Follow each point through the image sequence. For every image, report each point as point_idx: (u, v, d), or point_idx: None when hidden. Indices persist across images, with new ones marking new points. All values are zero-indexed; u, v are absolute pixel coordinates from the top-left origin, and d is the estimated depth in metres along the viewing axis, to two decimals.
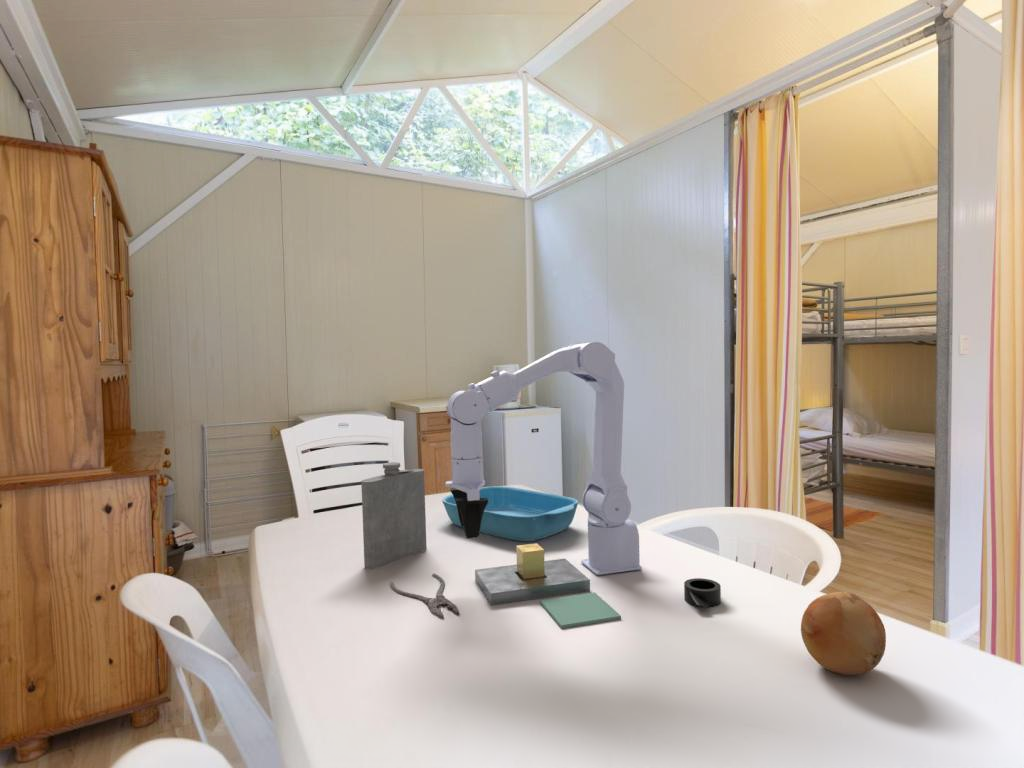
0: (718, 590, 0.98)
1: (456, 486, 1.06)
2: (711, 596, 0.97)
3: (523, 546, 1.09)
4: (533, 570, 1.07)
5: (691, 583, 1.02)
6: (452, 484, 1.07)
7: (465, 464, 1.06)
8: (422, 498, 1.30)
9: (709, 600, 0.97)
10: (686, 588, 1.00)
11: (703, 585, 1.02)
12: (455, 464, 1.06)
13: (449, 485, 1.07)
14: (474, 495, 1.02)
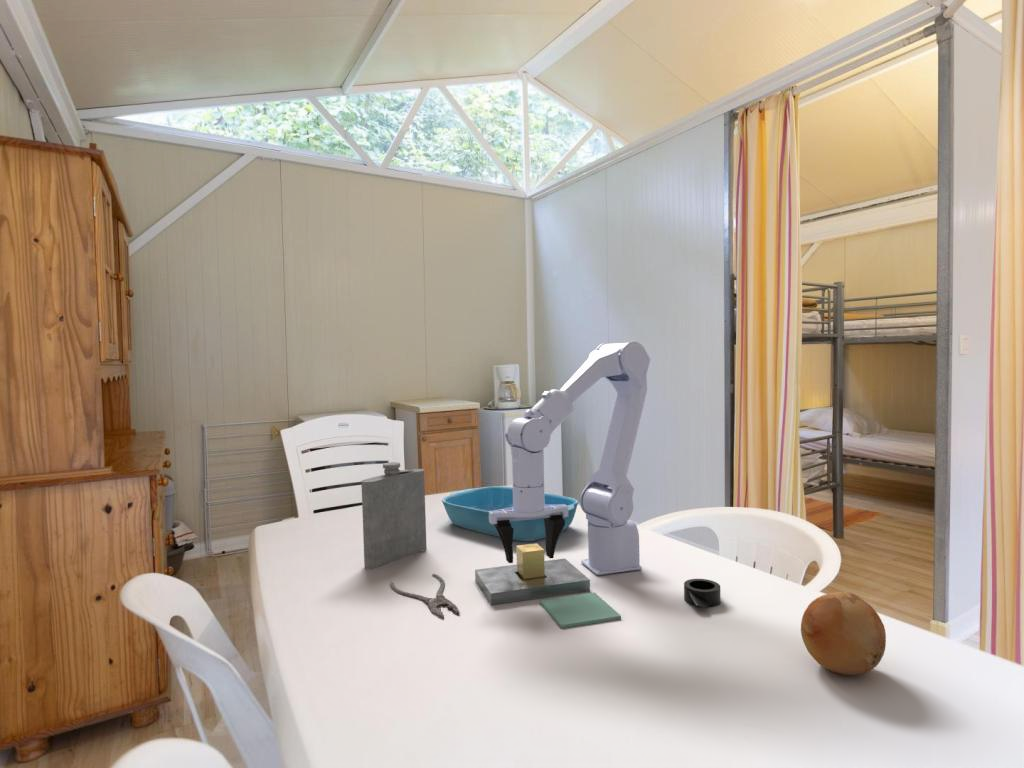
0: (718, 591, 0.98)
1: None
2: (710, 596, 0.97)
3: (523, 546, 1.09)
4: (533, 570, 1.07)
5: (691, 583, 1.02)
6: None
7: None
8: (422, 498, 1.30)
9: (708, 600, 0.97)
10: (686, 588, 1.00)
11: (703, 585, 1.02)
12: None
13: None
14: (490, 518, 1.06)
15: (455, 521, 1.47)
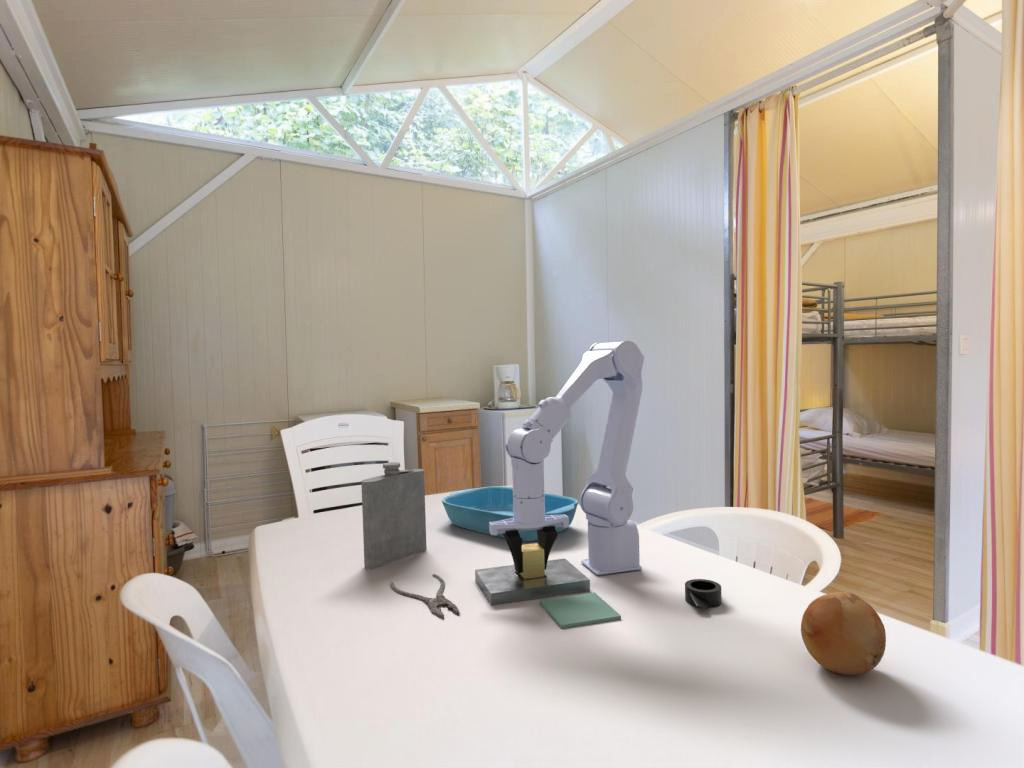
0: (718, 591, 0.98)
1: (513, 519, 1.10)
2: (711, 597, 0.97)
3: (523, 546, 1.09)
4: (533, 570, 1.07)
5: (692, 584, 1.02)
6: None
7: (513, 500, 1.08)
8: (422, 498, 1.30)
9: (709, 601, 0.97)
10: (686, 589, 1.00)
11: (704, 586, 1.02)
12: None
13: None
14: (490, 529, 1.06)
15: (455, 521, 1.47)
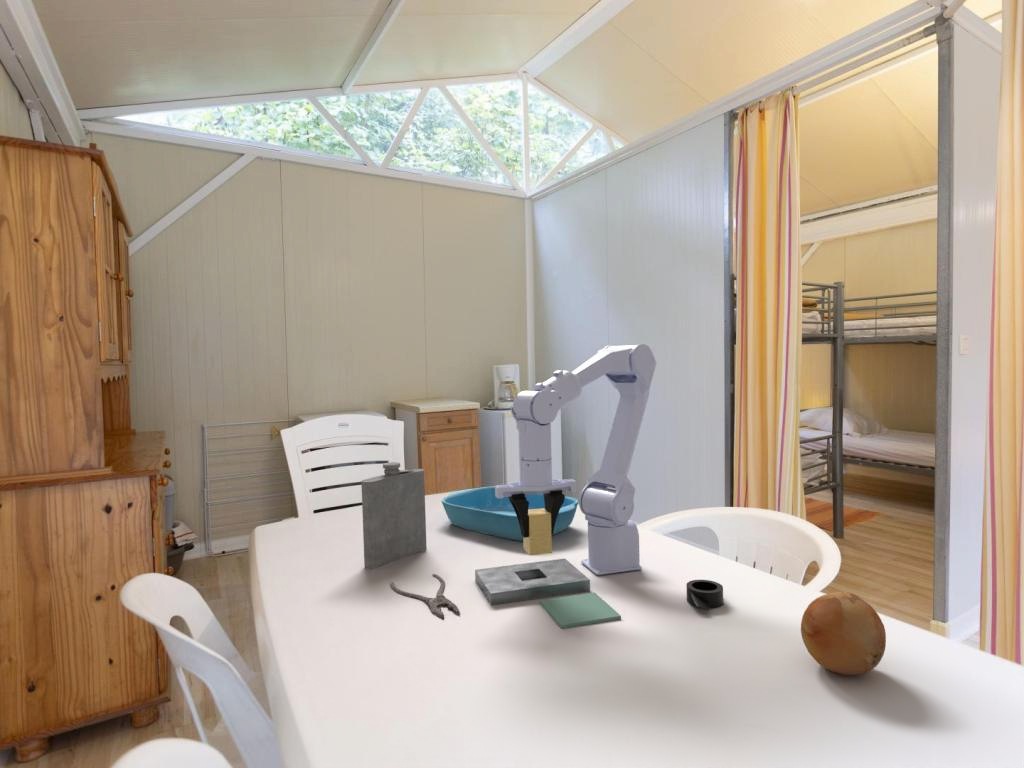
0: (720, 592, 0.97)
1: (520, 483, 1.08)
2: (712, 597, 0.97)
3: (529, 510, 1.07)
4: (540, 534, 1.04)
5: (694, 584, 1.01)
6: None
7: (519, 463, 1.06)
8: (422, 498, 1.30)
9: (710, 602, 0.97)
10: (688, 589, 0.99)
11: (706, 587, 1.02)
12: None
13: None
14: (496, 492, 1.04)
15: (455, 521, 1.47)
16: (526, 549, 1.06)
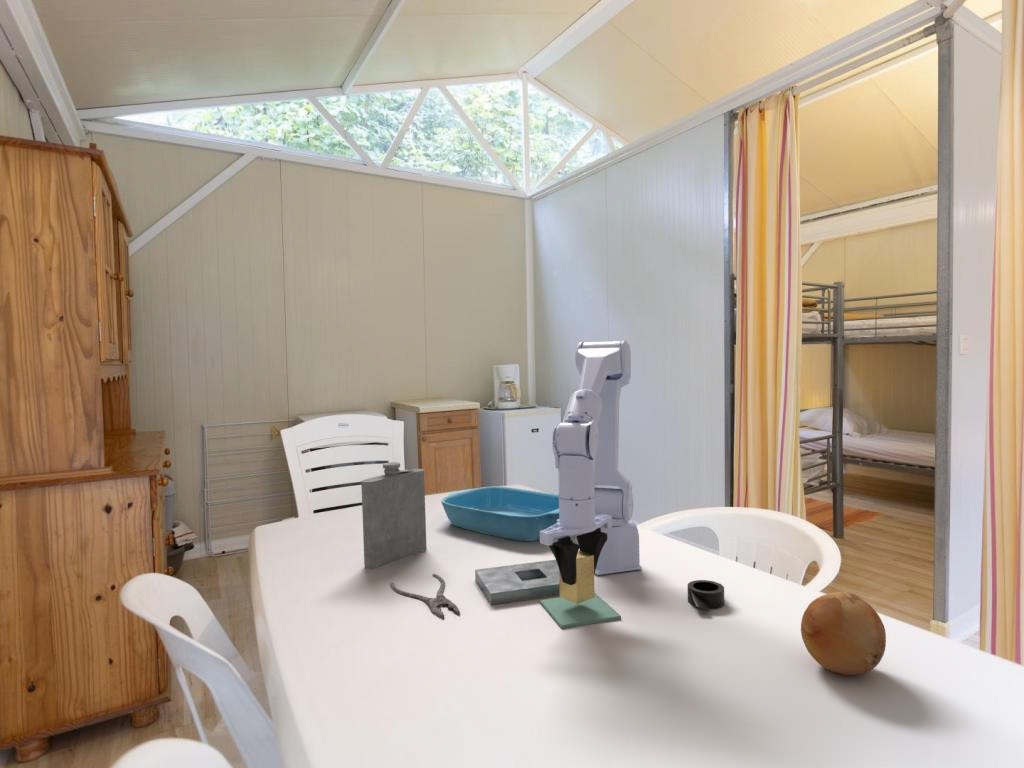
0: (721, 593, 0.97)
1: None
2: (713, 598, 0.97)
3: None
4: (585, 579, 0.96)
5: (695, 584, 1.01)
6: None
7: (561, 503, 0.95)
8: (422, 498, 1.30)
9: (711, 602, 0.97)
10: (688, 589, 0.99)
11: (708, 587, 1.01)
12: None
13: (557, 522, 0.99)
14: (544, 539, 0.92)
15: (455, 522, 1.47)
16: (567, 597, 0.96)
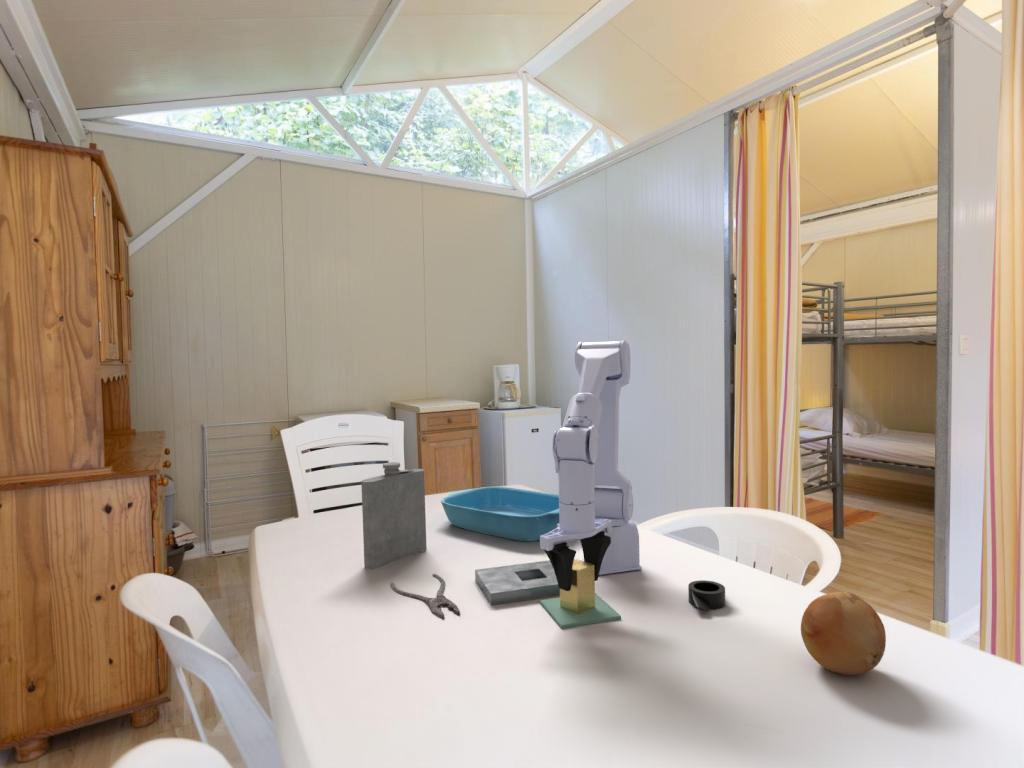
0: (721, 593, 0.97)
1: None
2: (713, 598, 0.96)
3: None
4: (586, 589, 0.96)
5: (696, 585, 1.01)
6: (559, 526, 0.98)
7: (561, 508, 0.95)
8: (422, 498, 1.30)
9: (711, 603, 0.96)
10: (689, 589, 0.99)
11: (709, 588, 1.01)
12: None
13: (558, 527, 0.99)
14: (544, 544, 0.92)
15: (455, 522, 1.47)
16: (568, 607, 0.96)
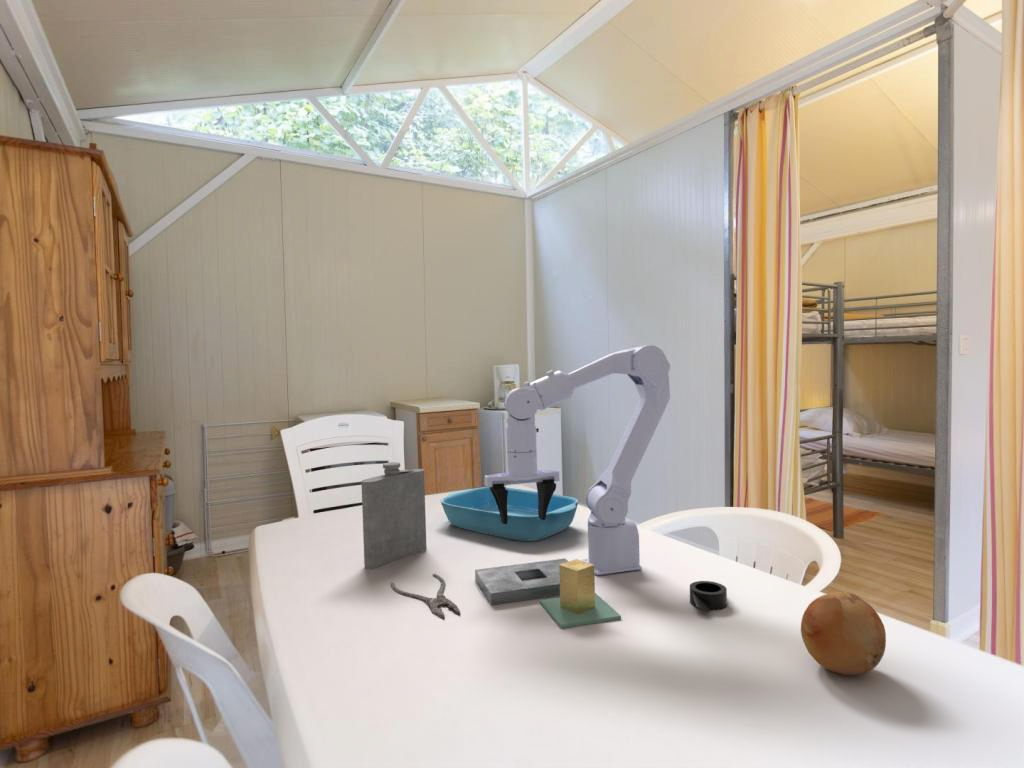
0: (722, 594, 0.97)
1: (507, 473, 1.17)
2: (714, 599, 0.96)
3: (568, 564, 0.98)
4: (586, 589, 0.96)
5: (698, 585, 1.01)
6: None
7: (507, 455, 1.15)
8: (422, 498, 1.30)
9: (712, 603, 0.96)
10: (690, 590, 0.99)
11: (711, 588, 1.01)
12: None
13: None
14: (485, 482, 1.13)
15: (455, 522, 1.46)
16: (568, 607, 0.96)
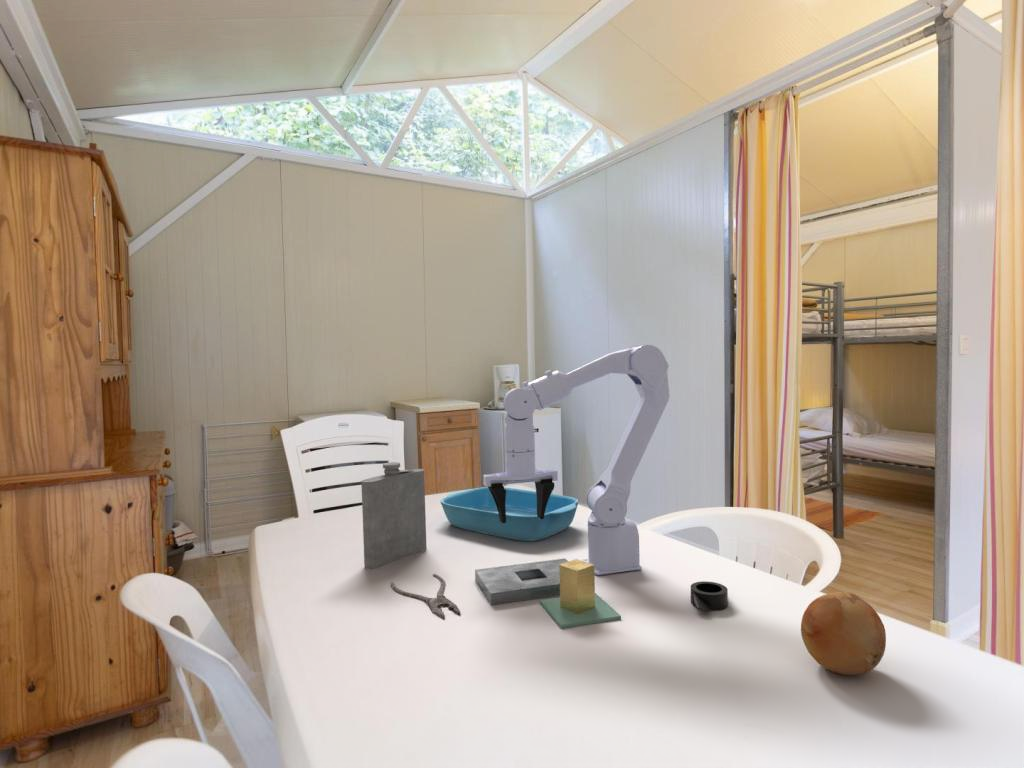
0: (723, 594, 0.96)
1: (506, 473, 1.18)
2: (714, 599, 0.96)
3: (568, 564, 0.98)
4: (586, 589, 0.96)
5: (699, 586, 1.01)
6: None
7: None
8: (422, 498, 1.30)
9: (712, 604, 0.96)
10: (691, 590, 0.99)
11: (712, 589, 1.01)
12: None
13: None
14: (484, 481, 1.14)
15: (455, 522, 1.46)
16: (568, 607, 0.96)
